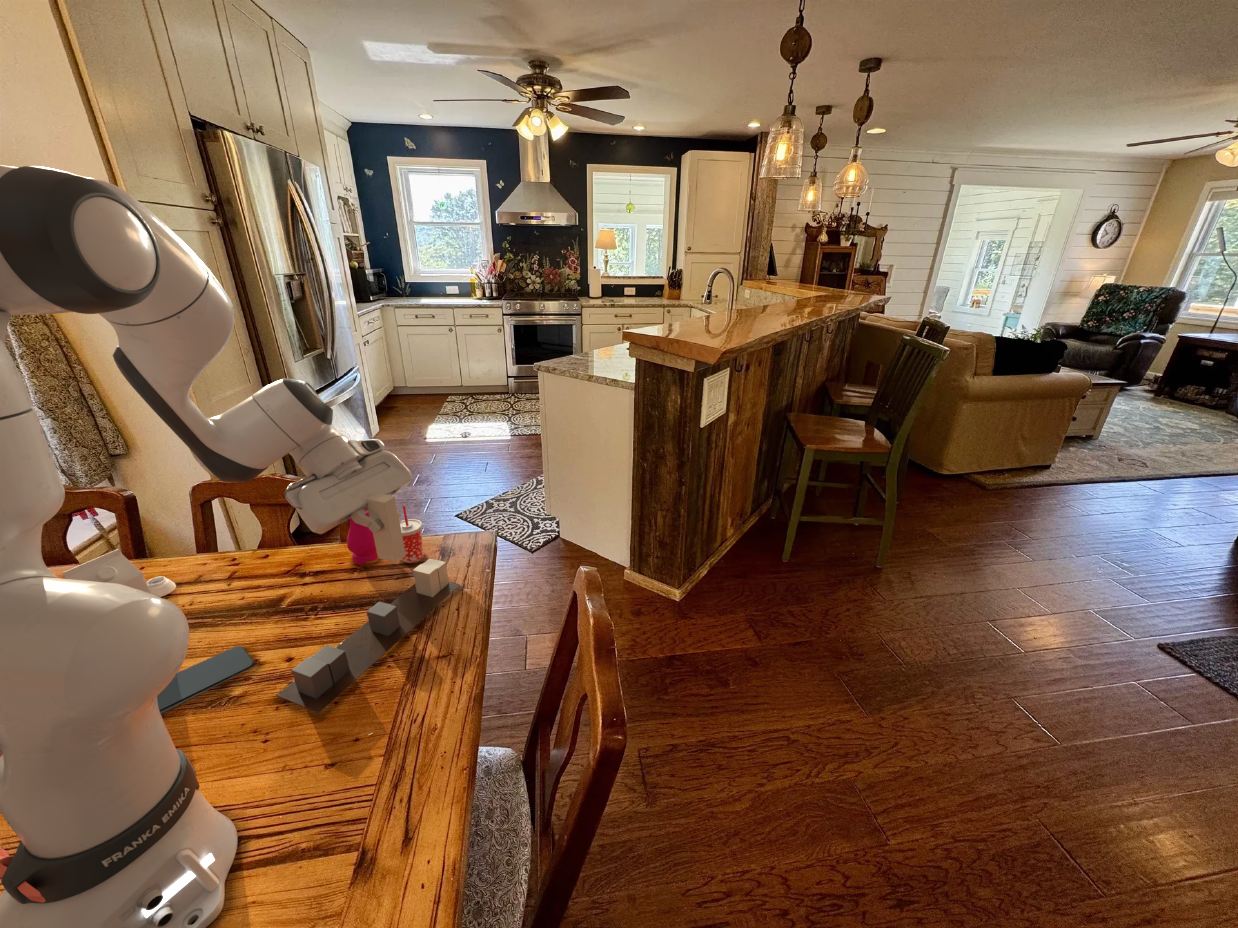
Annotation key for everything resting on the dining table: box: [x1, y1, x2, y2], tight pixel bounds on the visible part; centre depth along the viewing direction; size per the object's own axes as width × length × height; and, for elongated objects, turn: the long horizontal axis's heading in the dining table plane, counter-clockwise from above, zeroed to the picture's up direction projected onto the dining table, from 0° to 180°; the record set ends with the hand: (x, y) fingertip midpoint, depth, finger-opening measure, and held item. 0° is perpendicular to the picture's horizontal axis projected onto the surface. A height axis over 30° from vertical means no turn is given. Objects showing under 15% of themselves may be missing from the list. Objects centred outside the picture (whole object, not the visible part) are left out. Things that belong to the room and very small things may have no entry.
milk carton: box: [62, 548, 151, 594], centre depth 81 cm, size 7×7×19 cm
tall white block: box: [366, 493, 406, 563], centre depth 86 cm, size 2×4×12 cm, turn 70°
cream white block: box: [412, 558, 450, 597], centre depth 100 cm, size 5×4×6 cm
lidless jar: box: [146, 575, 177, 598], centre depth 99 cm, size 5×3×5 cm
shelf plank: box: [276, 581, 461, 714], centre depth 89 cm, size 34×9×1 cm, turn 160°
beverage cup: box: [399, 504, 425, 563], centre depth 109 cm, size 6×6×14 cm
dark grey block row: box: [290, 601, 400, 699], centre depth 83 cm, size 18×4×4 cm, turn 160°
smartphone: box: [157, 645, 255, 715], centre depth 78 cm, size 8×2×15 cm
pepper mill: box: [346, 509, 379, 566], centre depth 108 cm, size 7×7×20 cm
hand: (388, 524), depth 86 cm, fingers closed on tall white block, 2 cm apart
